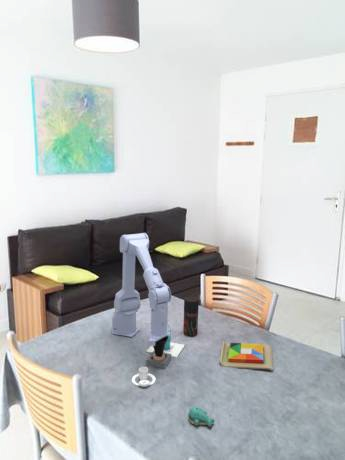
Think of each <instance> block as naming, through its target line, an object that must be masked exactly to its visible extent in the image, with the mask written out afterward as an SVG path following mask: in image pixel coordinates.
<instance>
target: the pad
mask: <svg viewBox="0 0 345 460" xmlns="http://www.w3.org/2000/svg"><path fill="white" fill-rule="evenodd" d="M149 346H150V345H149ZM185 347H186V344H183V343H176V342H172V341H170V349H169V350H164V351H163V353H168V354H172V355H171V358H176V359H177V358H178V357H179V355H180V354H181V352H182V351H183V349H184V348H185ZM153 351H154V347H153V346H150V347H149V348H148V349H146V351H145V352H146V353H149V354H151V353H152V352H153Z"/></svg>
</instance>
